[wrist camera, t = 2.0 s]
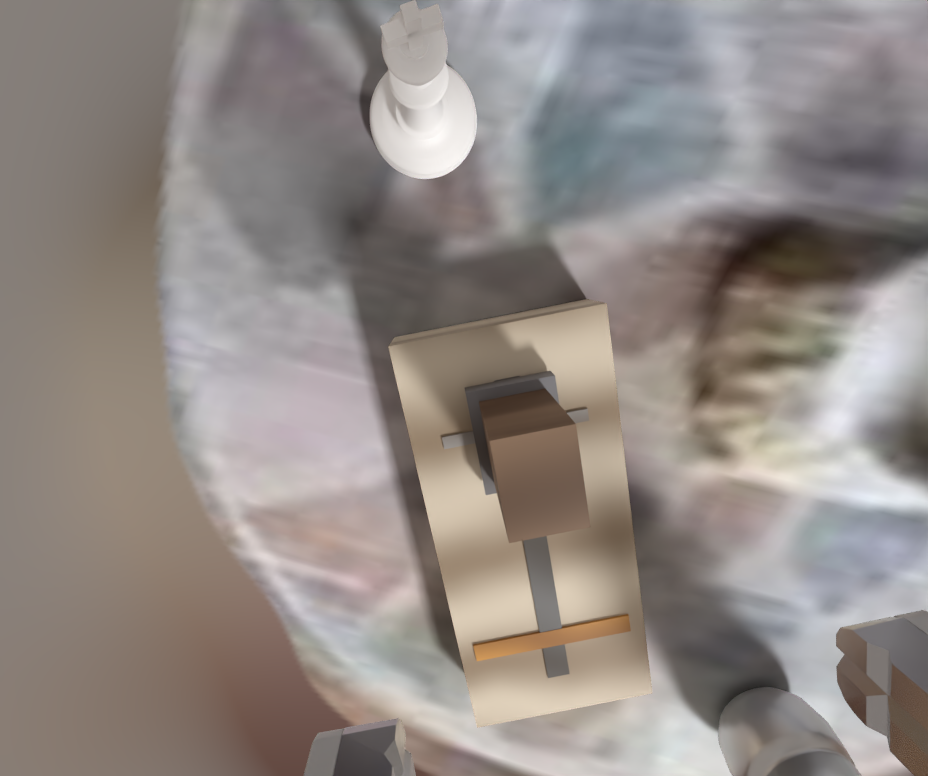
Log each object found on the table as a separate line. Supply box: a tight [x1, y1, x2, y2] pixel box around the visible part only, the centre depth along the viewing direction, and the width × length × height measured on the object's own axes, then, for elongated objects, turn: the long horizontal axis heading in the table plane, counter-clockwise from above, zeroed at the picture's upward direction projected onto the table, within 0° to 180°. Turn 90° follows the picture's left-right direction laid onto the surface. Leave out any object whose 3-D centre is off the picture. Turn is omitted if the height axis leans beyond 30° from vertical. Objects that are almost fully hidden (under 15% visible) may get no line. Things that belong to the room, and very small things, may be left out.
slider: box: [465, 371, 591, 543], centre depth 20 cm, size 5×4×6 cm
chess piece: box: [370, 0, 477, 179], centre depth 18 cm, size 5×5×10 cm
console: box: [388, 299, 652, 728], centre depth 26 cm, size 22×10×3 cm, turn 11°
